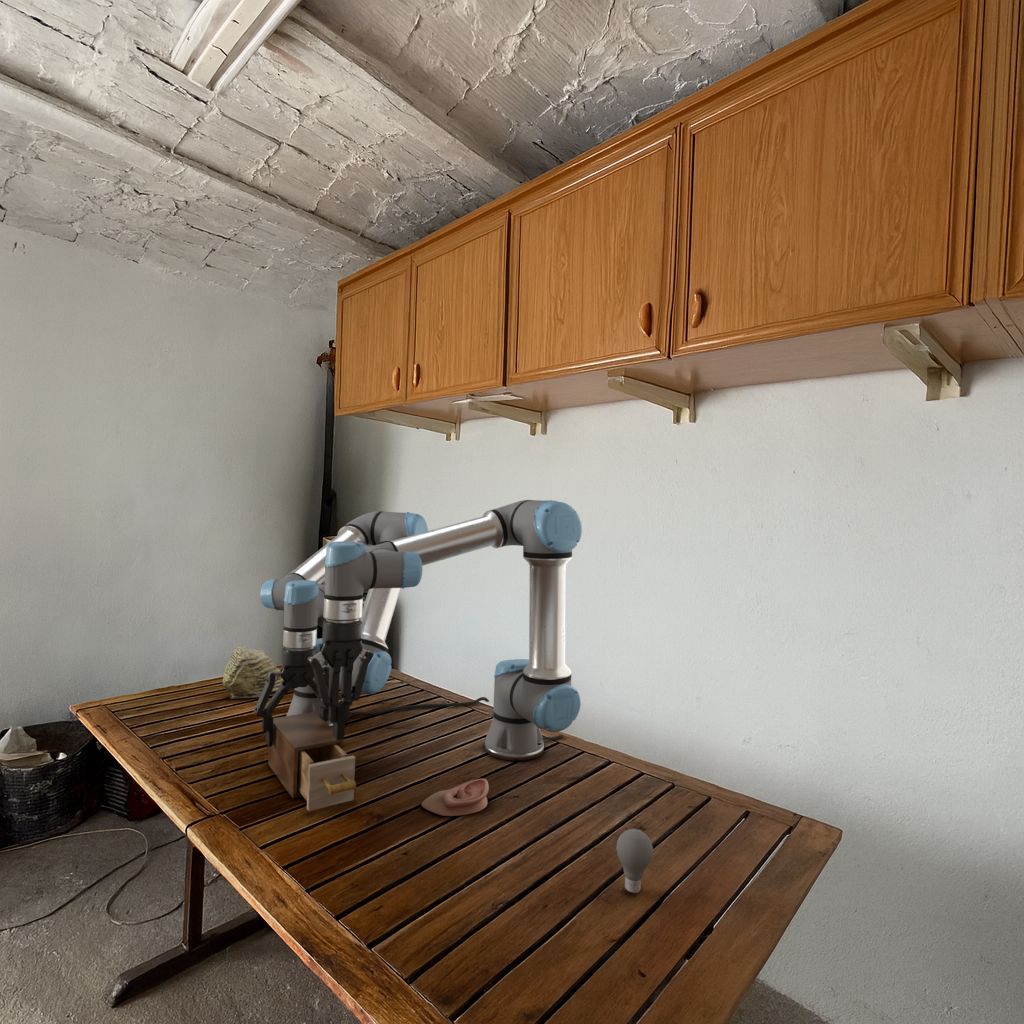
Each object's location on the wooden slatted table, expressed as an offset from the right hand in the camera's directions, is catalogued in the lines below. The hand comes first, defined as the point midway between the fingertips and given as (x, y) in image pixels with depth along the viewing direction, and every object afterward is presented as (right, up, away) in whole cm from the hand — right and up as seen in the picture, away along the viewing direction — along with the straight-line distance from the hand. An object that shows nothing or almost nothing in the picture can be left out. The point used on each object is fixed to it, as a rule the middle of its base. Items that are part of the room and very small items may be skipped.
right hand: (338, 737), depth 126 cm
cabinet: (-13, -15, +17) cm, 26 cm away
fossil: (-46, -12, +72) cm, 86 cm away
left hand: (-16, -9, +22) cm, 29 cm away
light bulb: (+55, -19, -21) cm, 61 cm away
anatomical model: (+23, -17, +7) cm, 29 cm away
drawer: (-6, -14, +7) cm, 17 cm away
